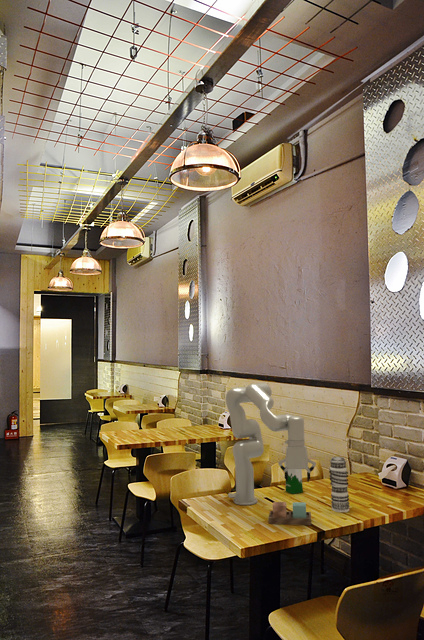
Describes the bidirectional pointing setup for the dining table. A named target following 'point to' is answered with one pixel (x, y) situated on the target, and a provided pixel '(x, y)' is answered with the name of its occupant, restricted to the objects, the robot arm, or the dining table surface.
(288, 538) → the dining table surface
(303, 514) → the teal cube
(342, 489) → the decorative candle
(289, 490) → the milk carton
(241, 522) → the dining table surface
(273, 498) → the dining table surface
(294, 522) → the walnut tray
